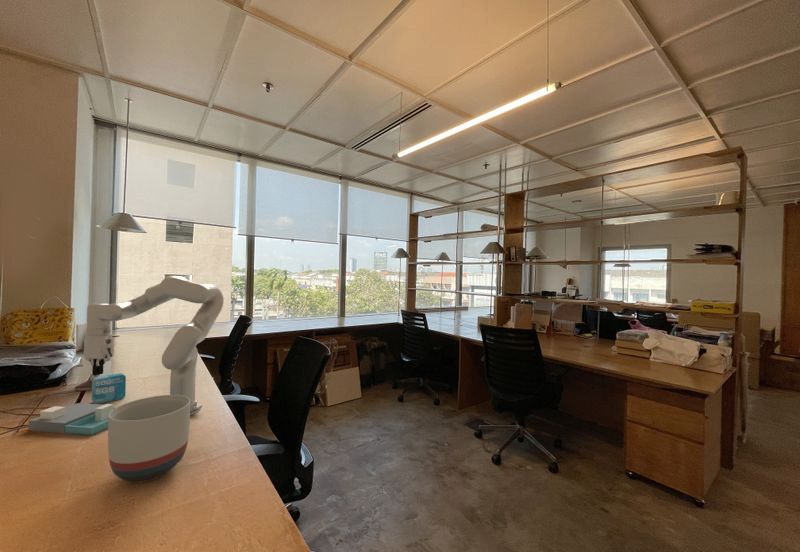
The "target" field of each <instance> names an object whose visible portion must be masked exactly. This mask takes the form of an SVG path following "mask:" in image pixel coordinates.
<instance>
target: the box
mask: <svg viewBox="0 0 800 552" xmlns="http://www.w3.org/2000/svg"><path fill="white" fill-rule="evenodd" d="M115 408H116V407H113V409H115ZM106 430H108V418H107V419H105V420H102V421H97V420H95V414H93V415H91V416H88V417H86V418H83V419H81V420H78V421H76V422H73V423H71V424H68V425H66V426H65V433H64V434H67V435H78V436H79V435H81V436H82V435H83V436H89V437H91V436H94V435H97V434H99V433H101V432H103V431H106Z"/></svg>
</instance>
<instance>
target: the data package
mask: <svg viewBox="0 0 800 552" xmlns="http://www.w3.org/2000/svg"><path fill="white" fill-rule="evenodd" d="M126 380H127V377H126V375H125V374H124V373H121V372H120V373H119V372H118V373H113V374H111V375H106V376H100V377H95V378H94V379H93V380H92V390H91V401H92V404H99V403H100V404H103V403H109V402H114V401H118V400H122V399H124V398H125V397H126V394H127V393H126V387H127V386H126V385H127V383H126V382H127V381H126Z"/></svg>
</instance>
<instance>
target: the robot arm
mask: <svg viewBox="0 0 800 552" xmlns="http://www.w3.org/2000/svg"><path fill="white" fill-rule="evenodd" d="M173 299H178V300H182V301H184V302H189V303H192V304H201V306H200V307H199V308H198V310H197V311H196V313H195V315H194V316H193V318H192V320H191V321H190V322H189V323H188V324H186V325H183V326H182V327H180V328H179V329H178V330H177V331H176V332H175V334H174V335H173V337H172V339H171V340H170V342H169V343H168V345H167V346H166V348H165V349H164V351H163V353H162V357H161V364H162V366H163V368H165V369H166V370H167V369H168V370H169V371H170V379H169V380H170V381H169V382H170V383H169V384H170V385H169V387H170V388H169V395H181V396H185V397H188V398H189V399H190V416H193V415H195V414H197V413H198V412H200V411H201V410H202V407H203V405H202V404H198V400H196V377H197V375H196V373H197V370H196V369H197V362H198V354H199V351H198V348H197V345H198V344H200V343H201V342H203V341H204V340H205V339H206V338H207V336H208V334H209V333H210V330H211V329H212V327H213V325H214V324H215V322H216V321H217V318H218V317H219V315H220V313H221V312H222V309H223V307H224V302H225V301H224V295H223V292H222V290H221V289H220V288H219V287H218V286H217V285H215V284H212V283H196V282H193V281H190V280H189V279H188V278H187V277H184V276H180V275H179V276H178V275H176V276H175V275H171V276H168V277H166V278H163V279H162V281H161V282H160V283H157V284H156V285H153V286H150V287H148V288H146V289H145V290H144V293H143V294H142V295H140V296H137V297H135V298H133V299H130V300H128V301H124V302H123V301H122V302H115V303H107V302H103V303H102V302H100V303H99V302H98V303H97V302H96V303H90V304H88V305H87V307H86V322H87V336H86V338H85V343H84V357H85V358H86V360H87V361H90V362H91V366H93V369H92V375H100V374H103V365H104V364H105V362H107V361H110V360H111V359H110V357H114V355H115V344H114V338H113V334H112V335H110V332H111V330H110V321H112V322H117V321H122V320H127V319H132V318H134V317H136V316H139V315H142V314H144V313H146V312H148V311H150V310H152V309H155V308H157V307H158V306H160V305H162V304H164V303H167V302H169V301H172V300H173ZM84 357H83V358H84ZM100 360H101V361H100Z"/></svg>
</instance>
